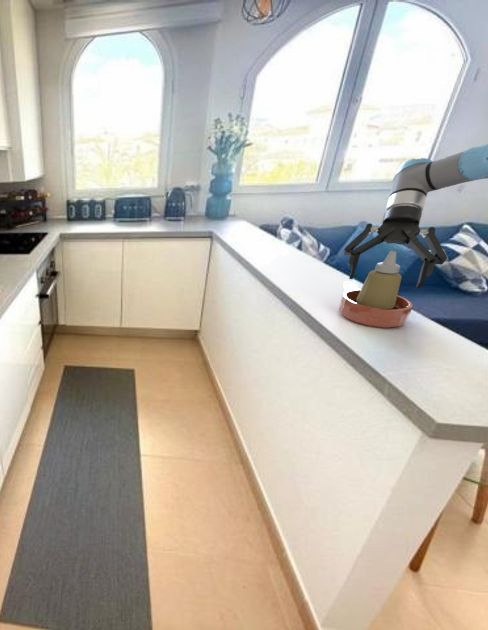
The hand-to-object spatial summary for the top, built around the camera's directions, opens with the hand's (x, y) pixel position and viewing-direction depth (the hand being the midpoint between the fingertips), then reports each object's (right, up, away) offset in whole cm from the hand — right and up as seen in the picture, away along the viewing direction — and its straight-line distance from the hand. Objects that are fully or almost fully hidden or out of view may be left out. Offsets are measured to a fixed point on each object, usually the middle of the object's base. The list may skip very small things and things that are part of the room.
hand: (384, 281), depth 90 cm
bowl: (+1, -9, +6) cm, 11 cm away
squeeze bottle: (+1, -9, +5) cm, 10 cm away
